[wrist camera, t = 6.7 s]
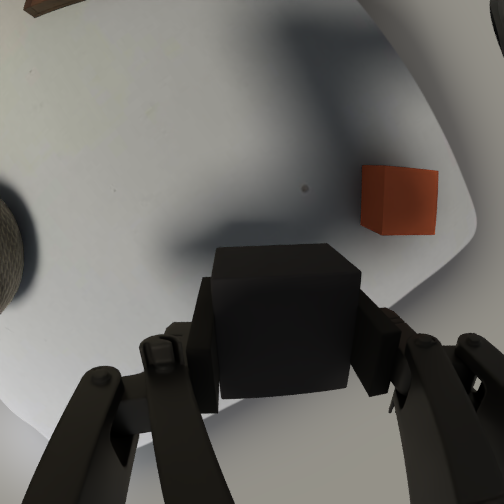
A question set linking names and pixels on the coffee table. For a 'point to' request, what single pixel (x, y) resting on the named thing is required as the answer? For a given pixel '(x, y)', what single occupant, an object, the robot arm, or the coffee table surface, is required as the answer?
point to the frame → (45, 6)
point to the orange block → (399, 200)
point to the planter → (9, 256)
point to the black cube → (283, 319)
